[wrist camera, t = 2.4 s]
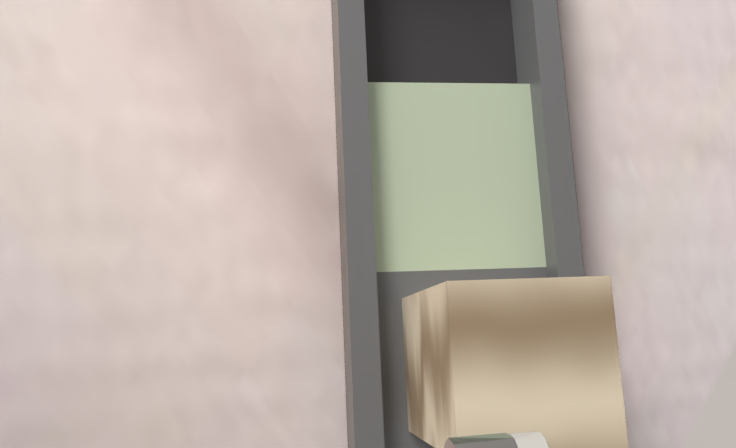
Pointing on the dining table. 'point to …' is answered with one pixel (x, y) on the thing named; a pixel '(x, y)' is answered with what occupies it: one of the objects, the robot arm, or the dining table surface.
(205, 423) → the dining table surface
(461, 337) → the block
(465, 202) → the grey rimmed tray
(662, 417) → the dining table surface
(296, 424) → the dining table surface
